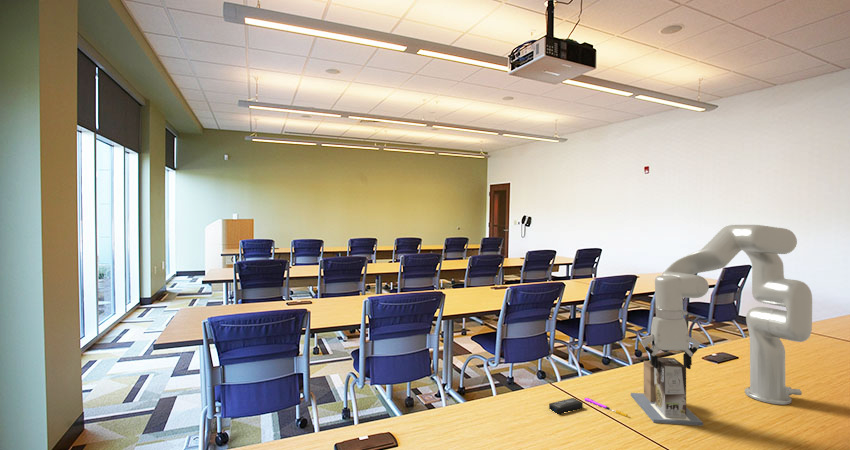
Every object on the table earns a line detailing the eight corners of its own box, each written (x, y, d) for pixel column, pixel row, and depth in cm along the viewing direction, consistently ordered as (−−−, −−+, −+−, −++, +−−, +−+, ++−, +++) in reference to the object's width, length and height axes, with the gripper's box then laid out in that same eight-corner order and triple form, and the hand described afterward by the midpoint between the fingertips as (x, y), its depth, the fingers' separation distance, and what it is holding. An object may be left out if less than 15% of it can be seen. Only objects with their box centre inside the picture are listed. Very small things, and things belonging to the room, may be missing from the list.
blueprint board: (673, 397, 143) (672, 361, 143) (703, 425, 123) (702, 383, 123) (630, 395, 145) (630, 359, 145) (653, 422, 125) (653, 380, 125)
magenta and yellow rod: (583, 400, 141) (628, 419, 128) (584, 397, 141) (629, 415, 128) (588, 400, 142) (633, 419, 129) (588, 397, 143) (633, 415, 129)
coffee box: (687, 419, 125) (687, 366, 125) (664, 417, 126) (664, 365, 126) (674, 406, 134) (674, 357, 134) (653, 404, 135) (653, 356, 135)
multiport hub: (583, 409, 135) (583, 402, 135) (558, 416, 130) (558, 408, 130) (573, 404, 139) (573, 397, 139) (548, 410, 134) (548, 403, 134)
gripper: (692, 311, 132) (694, 363, 132) (636, 311, 135) (637, 362, 135) (704, 317, 125) (706, 372, 125) (644, 317, 127) (646, 371, 128)
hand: (670, 367), depth 130 cm, fingers open, 9 cm apart
